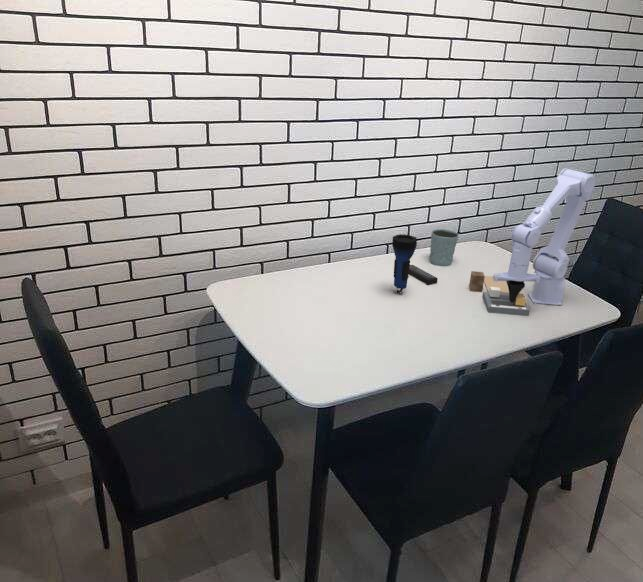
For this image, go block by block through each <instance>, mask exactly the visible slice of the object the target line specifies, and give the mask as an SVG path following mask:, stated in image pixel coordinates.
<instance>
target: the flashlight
mask: <svg viewBox="0 0 643 582" xmlns="http://www.w3.org/2000/svg"><path fill="white" fill-rule="evenodd" d="M417 244H418V238H417V237H416V236H414V235H410V234H406V233H405V234H404V233H403V234H395V235H393V237H392V249H393V252H394V256H395V259H394V261H393V263H394V264H393V286H394V287H395V288H396V289H397V290H396V293H397V294H401V293H402V292H403V291H404V290H405V289H406V288H407V286H408V279H409V276H410V275H409V269H410V267H409V266H410V265H411V264H410V263H411V259H412V257H413V256H414V253H415V251H416V248H417V247H418V246H417ZM398 289H399V290H398Z"/></svg>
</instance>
